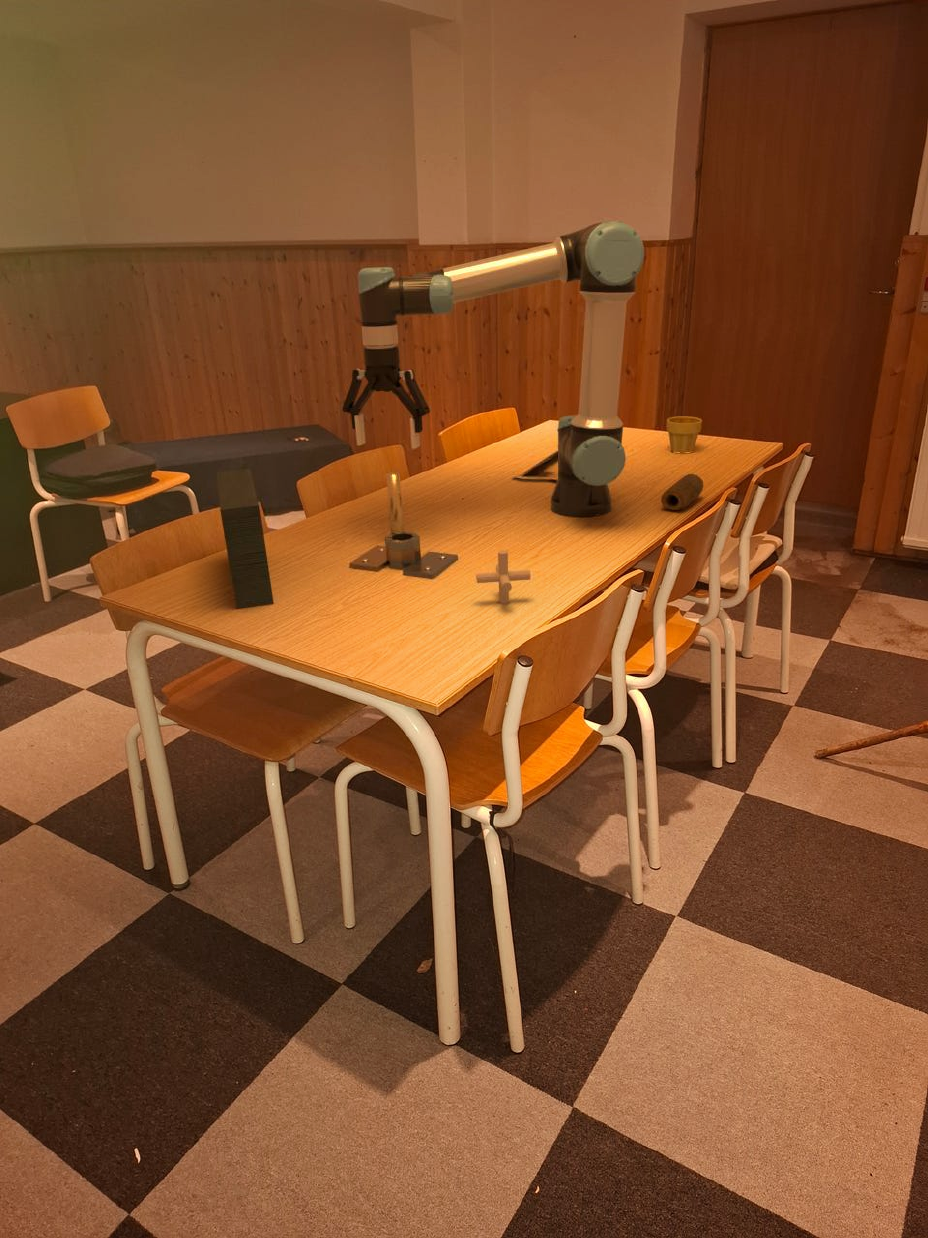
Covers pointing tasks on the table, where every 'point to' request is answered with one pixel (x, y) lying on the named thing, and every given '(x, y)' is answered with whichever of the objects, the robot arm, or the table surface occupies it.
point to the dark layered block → (244, 539)
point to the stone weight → (682, 492)
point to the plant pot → (683, 432)
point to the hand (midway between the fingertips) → (388, 445)
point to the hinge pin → (395, 502)
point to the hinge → (404, 557)
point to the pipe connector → (503, 576)
